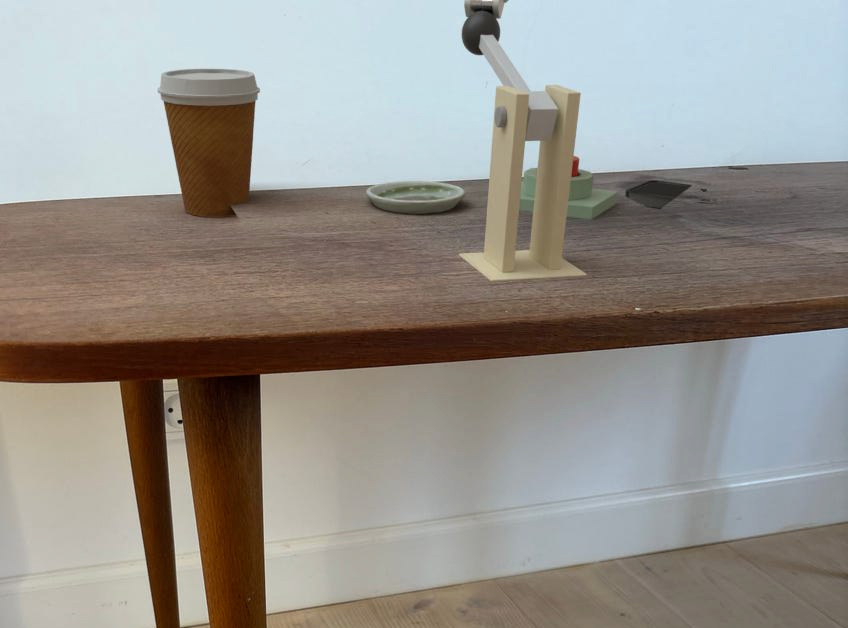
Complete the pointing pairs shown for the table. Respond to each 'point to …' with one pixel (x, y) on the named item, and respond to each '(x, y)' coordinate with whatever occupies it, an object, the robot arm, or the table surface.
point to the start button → (575, 166)
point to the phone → (656, 192)
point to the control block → (571, 195)
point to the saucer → (441, 192)
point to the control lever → (509, 73)
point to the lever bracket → (549, 192)
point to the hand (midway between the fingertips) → (481, 12)
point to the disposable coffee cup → (211, 136)
